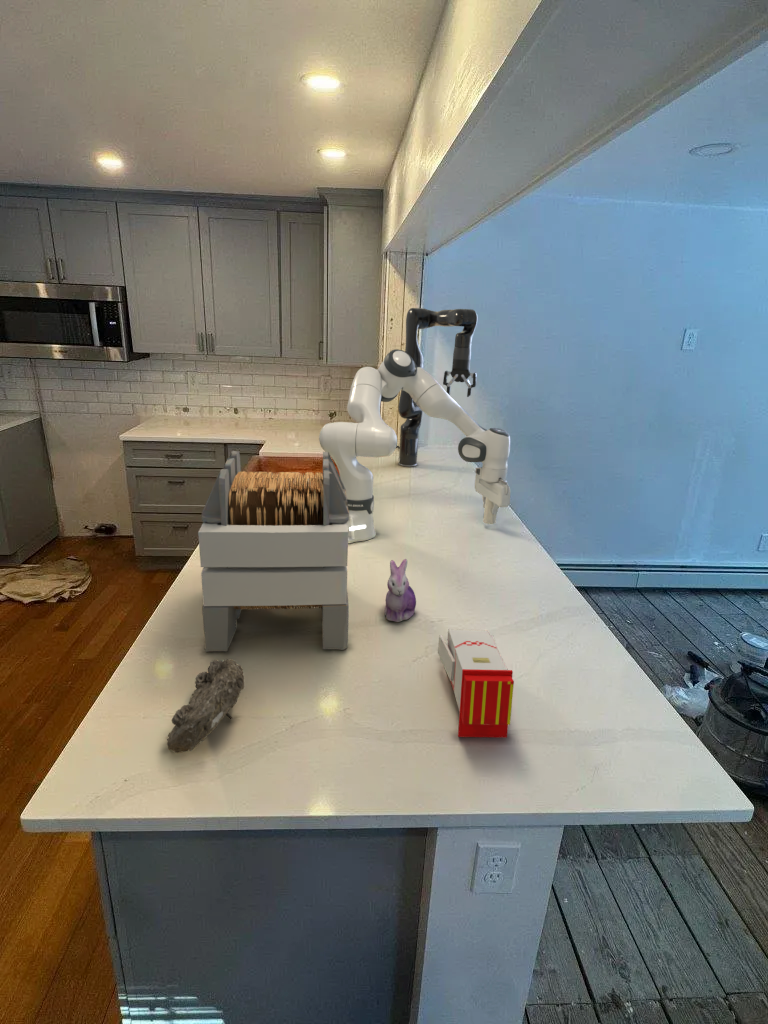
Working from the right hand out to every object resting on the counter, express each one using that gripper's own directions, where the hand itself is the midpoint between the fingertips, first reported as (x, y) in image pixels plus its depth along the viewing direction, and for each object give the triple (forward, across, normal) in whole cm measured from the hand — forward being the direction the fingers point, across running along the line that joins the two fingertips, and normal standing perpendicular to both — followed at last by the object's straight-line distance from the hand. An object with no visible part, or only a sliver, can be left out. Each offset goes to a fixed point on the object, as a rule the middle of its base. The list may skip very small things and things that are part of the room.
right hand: (458, 395), depth 250 cm
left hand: (+33, +22, -54) cm, 67 cm away
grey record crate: (+40, -24, -136) cm, 144 cm away
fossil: (+40, -20, -175) cm, 181 cm away
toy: (+40, +26, -152) cm, 159 cm away
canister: (+37, +22, -54) cm, 69 cm away
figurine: (+40, +5, -126) cm, 132 cm away
